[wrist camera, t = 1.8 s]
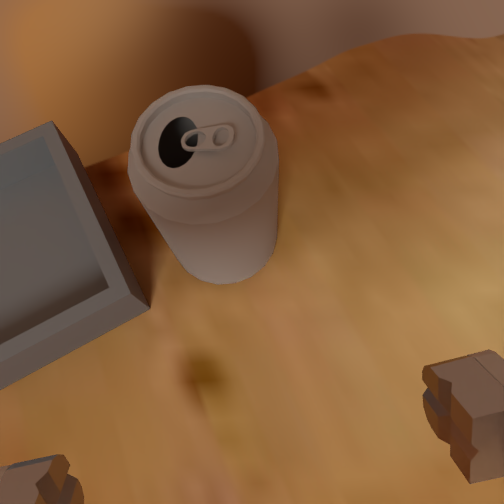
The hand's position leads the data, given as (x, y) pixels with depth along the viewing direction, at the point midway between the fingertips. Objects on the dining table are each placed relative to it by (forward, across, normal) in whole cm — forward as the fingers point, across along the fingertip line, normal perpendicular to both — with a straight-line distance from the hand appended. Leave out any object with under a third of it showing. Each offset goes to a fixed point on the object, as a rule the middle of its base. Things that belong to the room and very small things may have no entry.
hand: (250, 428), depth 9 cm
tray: (+21, +16, +2) cm, 26 cm away
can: (+21, 0, +3) cm, 21 cm away
